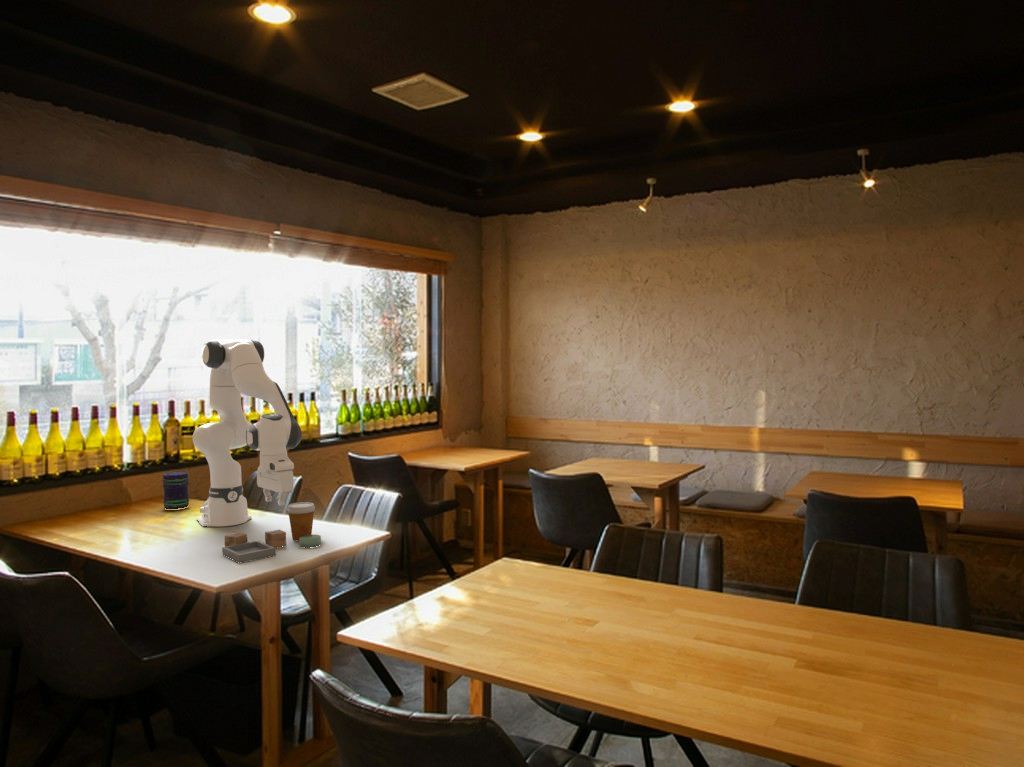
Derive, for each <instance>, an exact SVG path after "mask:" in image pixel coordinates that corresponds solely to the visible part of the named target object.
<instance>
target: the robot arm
mask: <svg viewBox="0 0 1024 767" xmlns="http://www.w3.org/2000/svg"><path fill="white" fill-rule="evenodd" d="M201 358H202V361H203V364H204V365H205V366H206V367H208V368H210V377H209V405H210V407H211V409H212V410H214V411H215V412H217V414H218V415H219V420H220V421H218V422H217V421H216V422H209V423H206V424H203V425H200V426H198V427H197V428H195V430H194V432H193V434H192V443H193V446H194V447H195V449H197V450H198V451H199V452H200V453H201V454H203V455H204V457H205V459H206V461H207V464H208V467H209V475H210V487H209V490H208V497H207V500H205V501H204V503H203V505H202V506H201V507H199V513H200V514H202V515H199V516H197V517H196V519H197V520H198V521H199V522H198V521H197V520H196V521H197V522H198V523H199V525H200V526H201V525H202V526H201V527H203V526H207V527H231V526H236V525H242V524H245V523H246V522H247V521H248V520H251V519H252V515H249V512H248V511H249V510H248V501H247V498H246V497H245V496H244V495H243V494H244V487H243V486H244V485H243V484H242V466H241V464H240V463H239V461H237V460H235V459H233V457H232V455H231V450H235V449H239V448H240V449H241V448H243V447H246V446H247V447H249V448H250V449H251V450H253V451H259V466H258V467H257V471H256V484H257V487H258V488H262V492H263V494H264V499H265V500H264V501H265V502H268V503H271V502H272V501H273V496H272V493H271V491H272V492H275V493H278V499H277V505H278V506H280V507H283V506H285V505H286V504H285V503H286V498H287V494H291V493H292V492H293V490H294V471H293V470H294V468H295V463H294V462H293V461H292V460H291V459H290V458H289V456H288V450H294V449H295V448H296V447H297V446H299V444H300V443H301V441H302V440H303V432H302V431H303V430H302V428H301V426H300V424H299V423H298V421H297V420H296V419H295V417H294V414H293V412H292V411H291V408H290V406H289V403H288V402H287V399H286V398H285V395H284V393H283V391H282V390H281V387H280V386H279V384H278V383H277V382H275V381H273V380H272V378H270V377H269V376H268V375H267V373H266V371H265V368H264V365H263V362H264V360H265V348H264V346H263V344H262V343H261V342H260V341H259V340H254V339H240V338H232V339H211V340H207V341H206V342H205V343H204V344H203V346H202V350H201ZM242 394H243V395H245V396H247V397H251V398H256V399H259V400H262V401H265V402H267V403H269V405H271V406H272V409H273V410H274V413H265V414H264V413H263V414H262V415H260V418H259V420H258V421H257V422H254V423H251V422H250V421H249V420H248V419H247V417H246V416H245V414H244V411H243V408H242V398H241V397H242Z"/></svg>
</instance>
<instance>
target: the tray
mask: <svg viewBox="0 0 1024 767" xmlns="http://www.w3.org/2000/svg"><path fill="white" fill-rule="evenodd" d="M221 548H222V550H221V551H222V554H223V555H222V554H221V555H222V556H224V555H225V556H224V557H226V556H227V557H226V558H228V557H229V558H228V559H230V558H231V559H230V560H232V559H233V560H232V561H234V562H236V561H237V562H236V563H238V562H239V563H238V564H241V563H240V562H242V563H246V562H245V561H247V562H251V561H250V560H252V561H256V560H255V559H257V560H261V558H262V559H265V557H266V558H270V557H269V556H271V557H274V556H273V555H277V554H276V552H277V551H276V550H277V549H275V547H272V546H270V545H268V544H265V542H262V541H261V540H252V541H249V542H248V541H247V543H242V544H237V545H232V546H226V547H225V546H223V547H221Z"/></svg>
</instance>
